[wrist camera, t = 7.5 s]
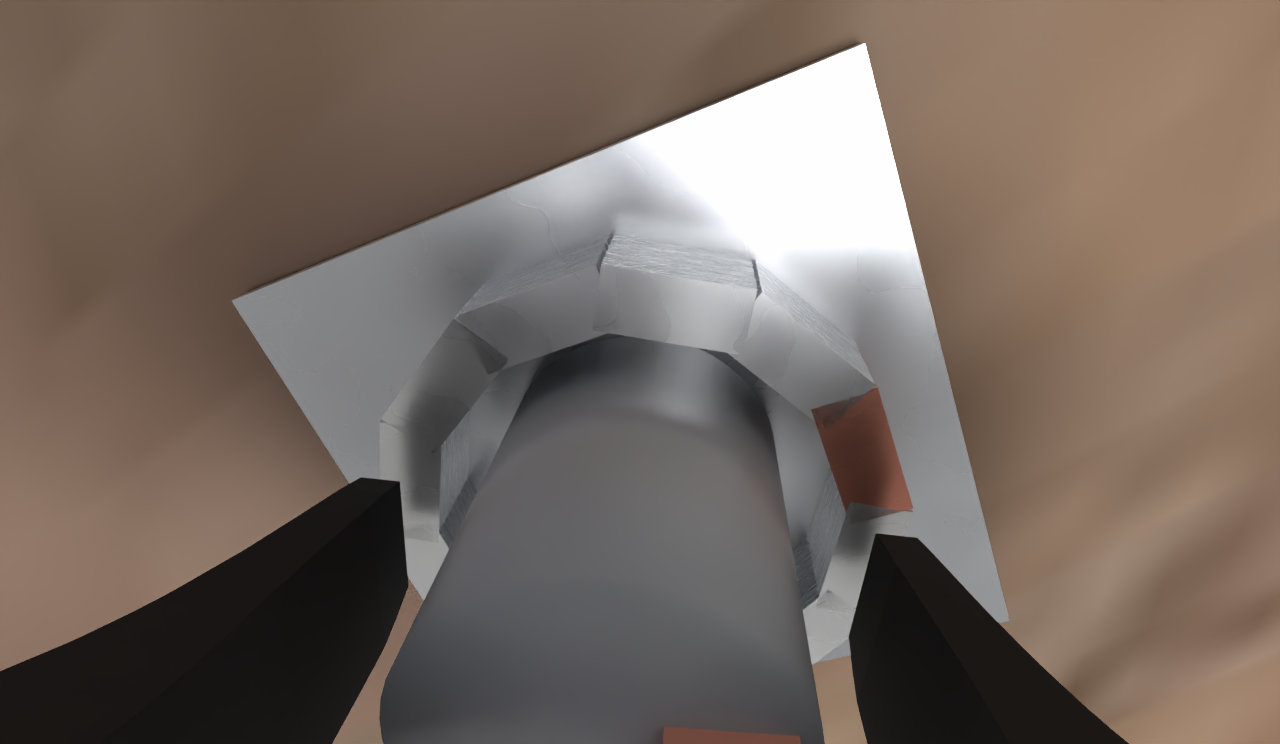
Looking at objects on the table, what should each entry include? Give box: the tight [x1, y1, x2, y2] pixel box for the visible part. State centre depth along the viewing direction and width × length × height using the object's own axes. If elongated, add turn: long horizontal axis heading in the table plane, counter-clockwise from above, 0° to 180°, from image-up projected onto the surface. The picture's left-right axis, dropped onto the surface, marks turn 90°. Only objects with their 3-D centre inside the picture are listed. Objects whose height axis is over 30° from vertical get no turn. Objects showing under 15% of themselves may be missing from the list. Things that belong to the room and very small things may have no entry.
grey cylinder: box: [380, 336, 825, 744], centre depth 10 cm, size 5×5×7 cm
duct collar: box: [232, 43, 1009, 665], centre depth 13 cm, size 11×11×2 cm
